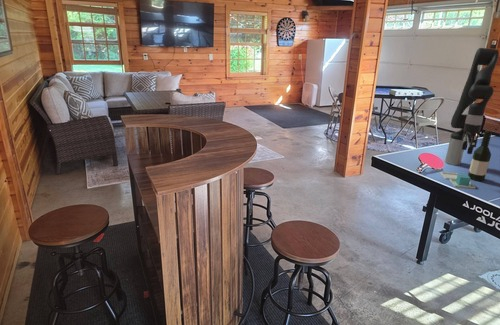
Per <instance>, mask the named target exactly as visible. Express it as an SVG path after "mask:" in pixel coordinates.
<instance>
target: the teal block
mask: <svg viewBox="0 0 500 325" xmlns="http://www.w3.org/2000/svg"><path fill="white" fill-rule="evenodd" d="M470 182H471V178H470V177H469V176H468V174H462V173H461V174H460V173H459V174H458V175H457V179H456V183H457V184H458V185H461V186H469V183H470Z"/></svg>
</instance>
